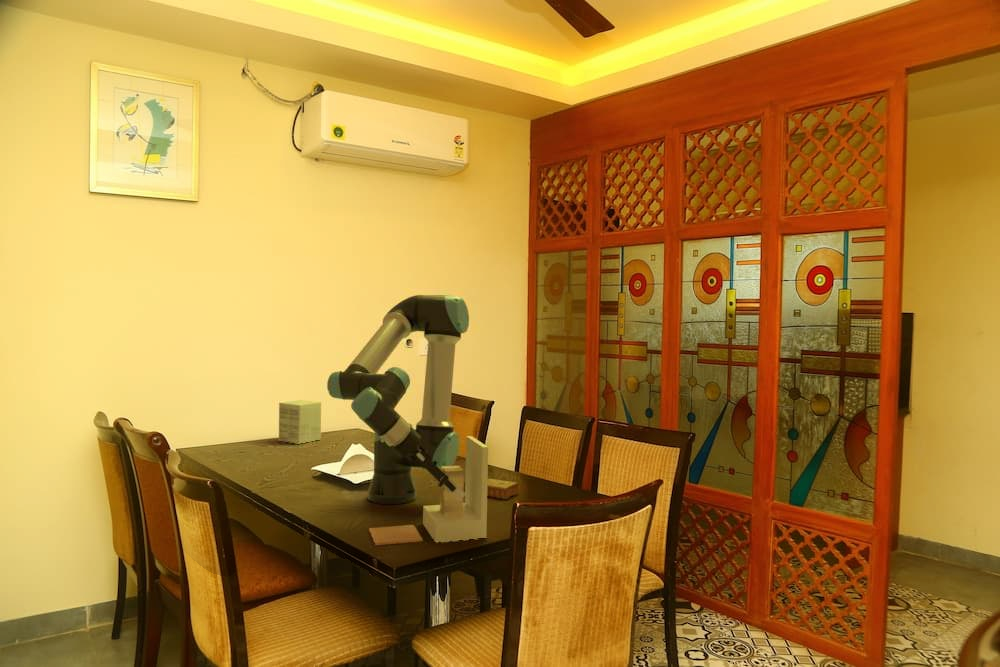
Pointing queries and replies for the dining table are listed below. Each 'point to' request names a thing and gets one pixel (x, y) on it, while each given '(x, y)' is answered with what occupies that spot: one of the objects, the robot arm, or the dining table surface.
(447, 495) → the maple block
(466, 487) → the l-shaped bookend
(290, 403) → the supplement box
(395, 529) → the tile pad
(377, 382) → the robot arm
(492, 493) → the carton
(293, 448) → the dining table surface
